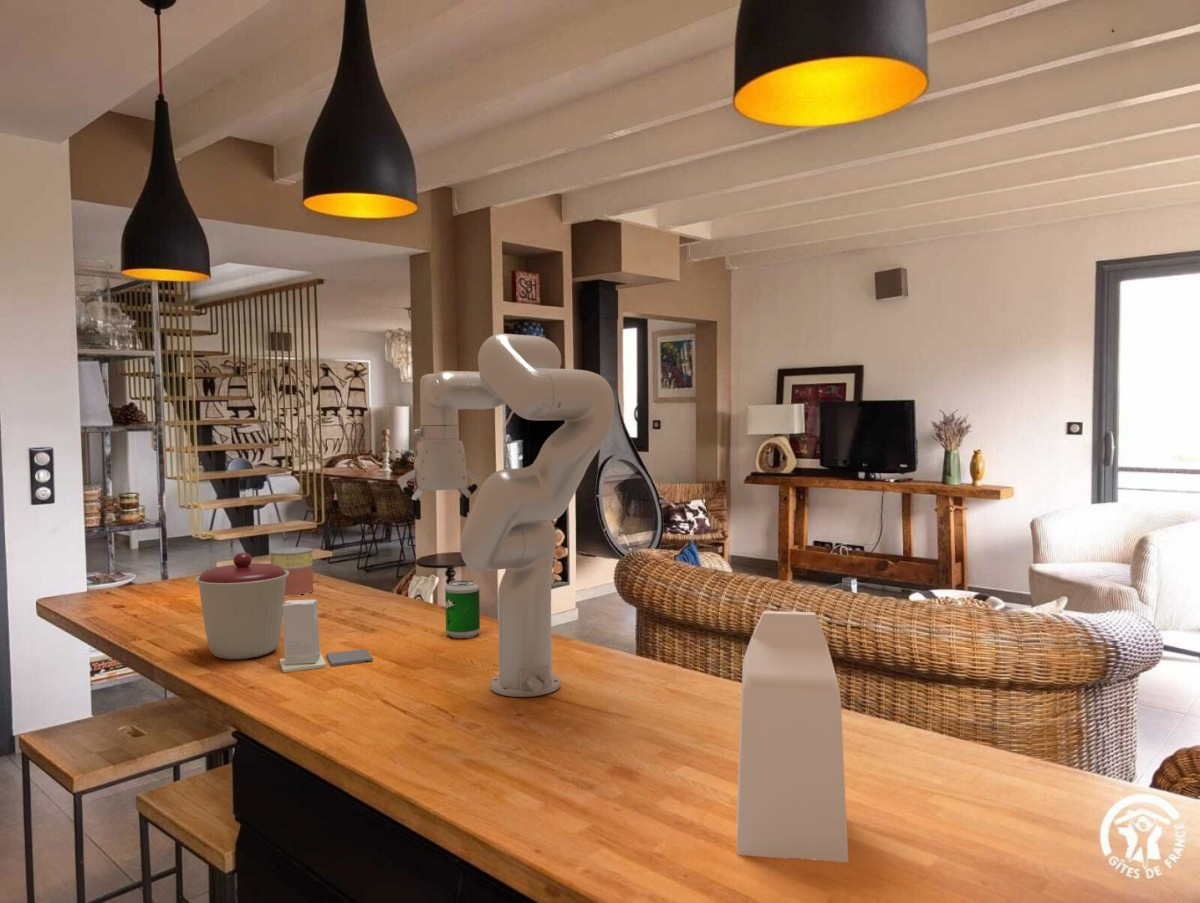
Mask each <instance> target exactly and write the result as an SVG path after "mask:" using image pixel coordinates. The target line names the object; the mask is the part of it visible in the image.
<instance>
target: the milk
mask: <svg viewBox="0 0 1200 903" xmlns="http://www.w3.org/2000/svg"><path fill="white" fill-rule="evenodd" d="M817 616H818V615H817V614H816V612H815V611H814V612H811V611H810V612H809V611H785V610H784V611H783V610H781V611H777V610H763V611H762V613H761V616H760V618H759V619H758V621H757V624H756V626H755V628H754V630H753V633H752V635H751V637H750V640H749V643H748V645H747V648H746V651H745V654H744V658H743V661H742V670H741V671H742V672H741V673H742V674H741V677H742V678H741V695H740V697H741V698H740V700H741V701H740V724H739V725H740V726H739V744H738V745H739V748H738V750H739V751H738V766H737V767H738V771H737V794H736V795H737V796H736V855H737V856H750V857H762V858H764V857H765V858H775V859H776V858H778V859H779V858H780V859H789V858H804V859H816V860H815V861H817V860H827V861H826V862H830V861H836V862H835V863H844V862H848V863H849V853H848V852H849V848H848V830H847V829H848V828H847V826H848V825H847V809H846V808H847V807H846V784H845V762H844V744H843V743H844V742H843V739H844V738H843V725H842V724H843V721H842V717H843V716H842V702H841V692H840V686H839V683H838V682H839V681H838V678H837V674H836V671H835V667H834V666H835V665H834V663H833V659H832V655H831V652H830V649H829V646H828V642H827V639H826V636H825V634H824V630H823V629H822V627H821V624H820V622H819V621H820V620H819V619H818V617H817ZM837 861H838V862H837Z"/></svg>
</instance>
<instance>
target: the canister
mask: <svg viewBox="0 0 1200 903" xmlns="http://www.w3.org/2000/svg"><path fill="white" fill-rule="evenodd" d="M252 560H253V558H252V555H251V553H248V552H240V553H236V554H235V555H234V557H233V559H232V562H233V564H229V565H221V566H217V567H213V568H209V569H207V570H205V571H204V572H202V573H201V574H200V575H198V576H196V577H195V578H194V581H195V583H196V584H198V589H199V596H200V601H201V602H200V604H201V611H202V617H203V623H204V628H205V629H204V630H205V636H206V641H207V645H208V648H209V650H210V652H211V654H212V655H213V656H215V657H217V658H220V659H223V660H247V659H248V660H249V659H253V658H254V659H255V658H258V657H262V656H265V655H268V654H269V653H271V652H274V650H276V648H277V647H278V645H279V642H280V638H281V635H282V634H281V632H282V625H283V610H282V605H283V604H284V603H285V597H284V596H285V584H286V577H287V576H288V575H289V571H287V570H285V569H283V568H282V567H280V566H278V565H273V564H271V563H265V562H264V563H255V562H253V561H252ZM252 562H253V563H252Z"/></svg>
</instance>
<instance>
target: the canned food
mask: <svg viewBox="0 0 1200 903" xmlns="http://www.w3.org/2000/svg"><path fill="white" fill-rule="evenodd" d="M313 551H314V550H313V548H311V547H307V546H306V547H304V546H303V547H301V546H300V547H298V546H297V547H293V546H292V547H282V548H275V549H272V550H270V551H269V553H270V554H269V555H270V564H273V565H278V566H280V567H282V568H283V569H285V570H287V571H289V575H288V576H287V577H286V584H285V596H290V595H300V594H306V593H310V592H312V591H313V590H314V570H313V568H314V567H313V560H314V559H313ZM313 592H314V591H313ZM313 592H312V593H313ZM310 594H311V593H310Z"/></svg>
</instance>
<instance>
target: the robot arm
mask: <svg viewBox="0 0 1200 903" xmlns="http://www.w3.org/2000/svg"><path fill="white" fill-rule="evenodd" d="M477 356H478V357H477V364H478V365H477V366H478V371H472V370H471V371H467V370H465V371H464V370H458V371H457V370H456V371H455V370H443V371H439V372H437V373H426V374H424V375H422V376H421V377H420V380H419V390H420V391H419V392H420V393H419V397H420V398H419V401H420V404H419V405H420V412H419V413H420V426H419V427H418V428H414V429H413V436H417V437H419V439H420V440H418V441H417V444H416V451H415V457H414V469H412V470H410V471H408V472H406V473H405V474H403V475H402V476H399V477H398V478H397V479H396V482H397V484H398V486H399V487H400V489H401V491H402V492H403V493H404V494H405V495H406V496H408V498H409V499H410V508H411V509H410V510H411V512H410V514H411V516H412V517H413V518H414V520H418V521H419V520H421V518H422V517H421V516H422V510H421V508H422V507H421V506H422V504H421V502H422V500H420V497H421V495H422V494H423V492H424V491H428V492H429V491H430V492H431V491H450V490H451V491H453V490H457V491H458V492H459V493H460V495H461V496H460V497H459V515H460V517H463V518H467V519H466V522H465V523H464V526H463V529H462V532H461V535H460V542H459V543H460V544H459V546H460V548H459V549H460V556H461V558H462V561H463V562H464V564H465V565H466V566H468V568H470V569H472V570H474V571H478V572H490V571H491V572H492V571H498V570H499V571H500V570H505V571H504V574H503V575H502V578H501V580H500V583H499V587H498V592H497V593H498V594H497V600H498V602H497V603H498V604H497V605H498V607H497V610H498V611H497V612H498V620H497V621H498V675H496V676H494V677H493V678H492V679H491V680H490V689H491V690H492V692H494V693H495V694H498V695H501V696H506V697H512V698H513V697H514V698H530V697H531V698H532V697H540V696H544V695H548V694H551V693H553V692H555V691H557V690H558V689H559V688H560V687H561V678H560V677H559V676H558V675H556V674H555V673H553V672H552V670H553V669H552V666H553V665H552V659H553V658H552V652H553V650H552V573H553V572H552V571H553V564H554V558H555V553H556V547H557V531H556V528H555V525H554V524H553V522H552V521H554V520H557V519H559V518H560V517H561V516H562V515H564V513H565V511H566V510H567V508H568V507H569V505H570V503H571V501H572V499H573V497H574V496H575V494H576V492H577V489H578V487H579V486H580V483H581V481H582V480H583V478H584V476H585V474H586V472H587V470H588V467H589V466H590V464H591V462H592V461H593V459H594V458H595V456H596V455H597V454H598V452H599V450H600V449H601V448H602V446H603V445H604V443H605V441H606V439H607V438H608V436H609V433H610V431H611V428H612V425H613V423H614V417H615V408H616V407H615V397H614V393H613V389H612V387H611V385H610V384H609V382H608V381H607V379H605V378H604V377H603V375H600V374H598V373H595V372H593V371H589V370H585V369H584V370H583V369H576V368H575V369H574V368H561V366H562V355H561V352H560V350H559V347H557V345H556V344H555V343H554V342H553V341H551V340H550V339H548V338H546V337H543V336H538V335H529V334H527V335H526V334H515V333H514V334H512V333H497V334H493V335H491V336H490V337H488V338H487V339H485V340H484V342H483V343H482V345H481V346H480V348H479V351H478V355H477ZM504 405H507V406H508V408H509V409H510V410H511V411H512V412H513V413H514V414H516V415H517V416H518V417H520V418H522V419H525V420H528V421H565V422H564V423H563V424H562V425H561V426H560V427H558V428H557V429H556V430H555V431H553V433H552V434H550V436H548V438H546V440H545V441H544V442H543V443H542V446H541V448H540V449H539V453H538V454H537V456H536V458H535V459H534V461H533V463H532V464H530V465H529V466H525V467H521V468H518V467H517V468H507V469H500V470H497V471H495V472H493V473H492V474H491V475H489V476H488V477H487V478H486V479H485V481H484V482H483V483H482V485H481V487H480V489H479V492H478V493H477V496H476V498H475V501H474V503H473V506H472V508H471V509H470V498H471V497H472V495H473V494H474V493H475V492H476V490H478V486H479V484H480V482H481V481H482V478H483V477H482V475H481V474H478V473H476V472H474V471H472V470H471V469H468V468H467V463H466V462H467V461H466V455H465V454H466V453H465V448H464V443H463V440H459V411H458V410H489V409H494V408H498V407H501V406H504ZM468 477H469V478H471V479H472V481H471V484H470V485H468V487H467V484H468ZM411 479H413V483H414V486H415V487H414V488H413V489H411V488H410V487H409V486H408V483H407V482H408V481H410V480H411ZM468 513H469V514H468Z"/></svg>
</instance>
